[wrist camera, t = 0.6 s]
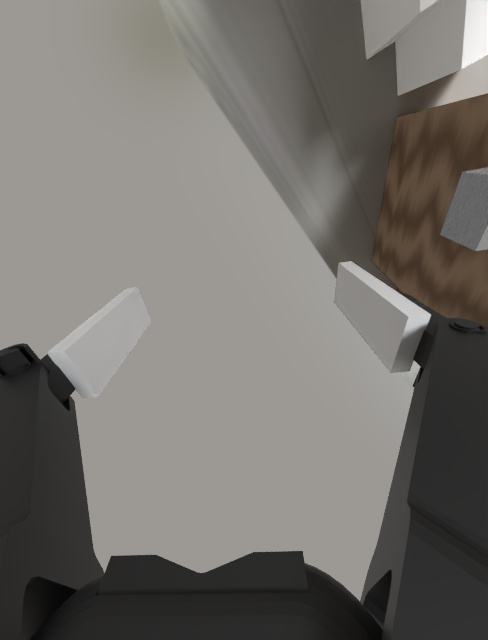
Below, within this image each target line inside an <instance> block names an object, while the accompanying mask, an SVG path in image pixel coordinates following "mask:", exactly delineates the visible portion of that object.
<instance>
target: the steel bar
mask: <svg viewBox="0 0 488 640" xmlns="http://www.w3.org/2000/svg"><path fill="white" fill-rule="evenodd" d="M440 235H442V236H444V237H446V238H448V239H450V240H453V241H455V242H457V243H459V244H461V245H463V246H465V247H468V248H470V249H472V250H474V251H480V250H487V249H488V167H485V168H480V169H475V170H470V171H465V172H462V174H461V177H460V180H459V183H458V186H457V189H456V191H455V194H454V197H453V200H452V203H451V205H450V208H449V211H448V214H447V217H446V220H445V222H444V225H443V228H442V231H441V234H440Z"/></svg>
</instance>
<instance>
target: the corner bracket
mask: <svg viewBox="0 0 488 640" xmlns="http://www.w3.org/2000/svg"><path fill="white" fill-rule="evenodd" d="M361 10H362V20H363V30H364V40H365V50H366V60H368V59H369V58H371V57H372V56H374V55H375V54H377V53H378V52H380V51H381V50H383V49H384V48H386V47H387V46H389V45H390V44H392V43H393V42H395V45H396V67H397V89H398V96H399V95H402V94H404V93H406V92H409V91H411V90H414V89H416V88H418V87H421V86H423V85H426V84H428V83H430V82H433V81H435V80H438V79H440V78H442V77H445V76H447V75H449V74H452V73H454V72H457V71H459V70H461V69H463V68H465V67H467V66H468V65H470V64H472V63H474V62H476V61H477V60H479V59H481V58H483V57H484V56H486V55H488V0H361Z"/></svg>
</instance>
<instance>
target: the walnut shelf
mask: <svg viewBox="0 0 488 640" xmlns="http://www.w3.org/2000/svg"><path fill="white" fill-rule="evenodd" d="M485 167H488V94H484V95H480V96H476V97H472V98H469V99H465V100H461V101H457V102H453V103H449V104H446V105H442V106H438V107H434V108H430V109H426V110H423V111H419V112H415V113H411V114H407V115H404V116H400V117H397V120H396V125H395V131H394V137H393V142H392V148H391V154H390V159H389V165H388V171H387V176H386V182H385V188H384V193H383V199H382V205H381V210H380V216H379V222H378V227H377V233H376V239H375V244H374V250H373V256H372V262H373V263H374V264H375V265H376V266H377V267H378V268H379V269H380V270H381V271H382V272H383V273H384V274H385V275H386V276H387V277H388V278H389V279H390V280H391V281H392V282H393V283H394V284H395V285H396V286H397V287H398V288H399V289H400V290H401V291H402V292H403V293H405V294H408V295H411V296H412V297H414V298H415V299H417V300H419V302H422V303H423V304H425V306H428V307H430V308H431V309H433V310H434V311H436V312H438V313H439V314H441V315H442V316H444V317H445V318H462V319H467V320H471V321H475V322H477V323H480V324H482V325H484V326H485V327H487V328H488V249H487V250H480V251H474V250H472V249H470V248H468V247H465V246H463V245H461V244H459V243H457V242H455V241H453V240H450V239H448V238H446V237H444V236H442V235H440V234H441V231H442V228H443V225H444V222H445V220H446V217H447V214H448V211H449V208H450V205H451V203H452V200H453V197H454V194H455V191H456V189H457V186H458V183H459V180H460V177H461V174H462V172H465V171H470V170H475V169H480V168H485Z"/></svg>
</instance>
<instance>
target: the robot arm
mask: <svg viewBox="0 0 488 640" xmlns="http://www.w3.org/2000/svg"><path fill="white" fill-rule="evenodd" d="M334 302H335V303H336V305H337V306H338V307H339V309H340V310H341V311H342V312H343V314H344V315H345V316H346V317H347V319H348V320H349V321H350V322H351V324H352V325H353V326H354V327H355V329H356V330H357V331H358V332H359V333H360V335H361V336H362V338H363V339H364V340H365V341H366V342H367V344H368V345H369V346H370V348H371V349H372V350H373V351H374V353H375V354H376V355H377V356H378V357H379V359H380V360H381V361H382V363H383V364H384V365H385V366H386V368H387V369H388V370H389V371H390V373H393V372H405V371H410V369H411V366H412V363H413V361H414V360H415V361H416V362H417V363H418V364H419V365H420V366H421V367H420V370H419V372H418V375H417V377H416V379H415V382H414V384H413V387H415V388H414V392H413V396H412V401H411V405H410V409H409V413H408V417H407V422H406V426H405V430H404V435H403V438H402V443H401V446H400V451H399V455H398V459H397V463H396V467H395V472H394V476H393V480H392V484H391V488H390V492H389V497H388V501H387V505H386V509H385V513H384V518H383V522H382V526H381V530H380V534H379V539H378V542H377V546H376V549H375V552H374V555H373V557H372V560H371V563H370V566H369V570H368V573H367V577H366V580H365V585H364V589H363V592H362V596H361V601H359V600H358V599H357V598H356V597H355V596H354V595H353V594H352V593H351V592H349V591H348V590H347V589H346V588H345V587H344V586H343V585H342V584H341V583H339V582H338V581H336V580H335V579H334V578H332V577H331V576H330V575H328V574H326V573H325V572H323V571H321V570H319V569H318V568H316V567H313V566H311V565H308V564H305V563H304V557H303V552H302V551H291V552H290V551H288V552H253V553H251V554H248V555H246V556H244V557H241V558H239V559H237V560H234V561H232V562H229V563H227V564H225V565H223V566H220V567H218V568H215V569H213V570H210V571H208V572H206V573H197V572H195V571H192V570H190V569H188V568H185V567H183V566H181V565H178V564H176V563H174V562H171V561H169V560H166V559H164V558H162V557H160V556H157V555H132V556H111V558H110V561H109V563H108V566H107V569H106V572H105V573H104V571H103V569H102V567H101V565H100V563H99V562H98V560H97V558H96V556H95V553H94V549H93V544H92V535H91V527H90V520H89V512H88V504H87V496H86V488H85V481H84V473H83V465H82V457H81V449H80V442H79V434H78V426H77V418H76V411H75V403H74V400H73V399H72V397H71V396H70V395H71V394H72V392H73V391H74V390H75V389H76V391H77V392H78V393H79V394H80V396H81V397H82V398H88V397H98V396H99V394H100V393H101V391H102V390H103V389H104V387H105V386H106V384H107V383H108V382H109V380H110V379H111V377H112V376H113V375H114V373H115V372H116V371H117V369H118V368H119V366H120V365H121V364H122V362H123V361H124V360H125V358H126V357H127V355H128V354H129V353H130V351H131V350H132V348H133V347H134V346H135V344H136V343H137V341H138V340H139V339H140V337H141V336H142V334H143V333H144V332H145V330H146V329H147V327H148V326H149V325H150V323H151V319H150V316H149V314H148V312H147V309H146V307H145V304H144V302H143V300H142V297H141V295H140V293H139V290H138V288H137V287H132V288H126V289H125V290H123V291H122V292H121V293H120V294H118V295H117V296H116V297H115V298H114V299H112V300H111V301H110V302H109V303H107V304H106V305H105V306H104V307H103V308H101V309H100V310H99V311H98V312H96V313H95V314H94V315H93V316H91V317H90V318H89V319H88V320H87V321H85V322H84V323H83V324H82V325H80V326H79V327H78V328H77V329H76V330H74V331H73V332H72V333H71V334H70V335H68V336H67V337H66V338H65V339H63V340H62V341H61V342H60V343H58V344H57V345H56V346H55V347H53V348H52V349H51V350H50V351H49V352H47V355H46V356H45V357H43V358H42V359H41V360H40V359H39V358H38V357H37V355H36V354H35V353H34V352H33V351H32V350H31V348H30V347H29V346H28V345H27V344H17V345H14V346H11V347H8V348H5V349H3V350H0V640H488V328H487V327H485V326H484V325H482V324H480V323H477V322H475V321H471V320H467V319H462V318H445V317H444V316H442V315H441V314H439V313H438V312H436V311H434V310H433V309H431V308H430V307H428V306H425V304H423V303H422V302H419V300H417V299H415V298H414V297H412V296H411V295H408V294H405V293H402V292H397V291H395V290H394V289H392V288H391V287H389V286H388V285H386V284H385V283H383V282H382V281H380V280H379V279H377V278H376V277H374V276H373V275H371V274H370V273H368V272H367V271H365V270H364V269H362V268H361V267H359V266H358V265H356V264H355V263H353V262H352V261H349V262H341V263H338V273H337V282H336V291H335V300H334Z"/></svg>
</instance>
